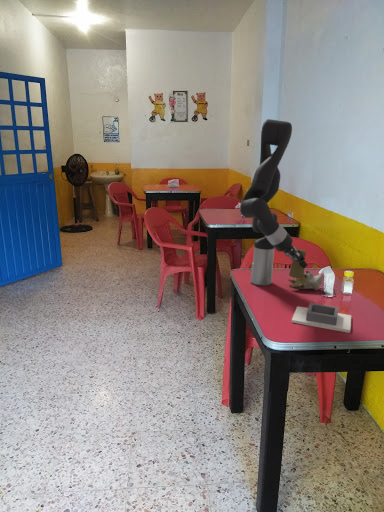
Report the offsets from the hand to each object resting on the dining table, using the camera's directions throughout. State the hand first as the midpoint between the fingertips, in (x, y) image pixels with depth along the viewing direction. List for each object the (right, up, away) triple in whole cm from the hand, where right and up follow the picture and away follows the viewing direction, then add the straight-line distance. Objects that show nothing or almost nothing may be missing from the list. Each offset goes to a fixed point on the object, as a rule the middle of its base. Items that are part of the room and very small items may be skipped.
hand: (301, 264), depth 160 cm
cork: (-2, -5, +1) cm, 5 cm away
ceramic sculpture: (+7, -12, +20) cm, 24 cm away
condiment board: (+4, -20, -13) cm, 25 cm away
